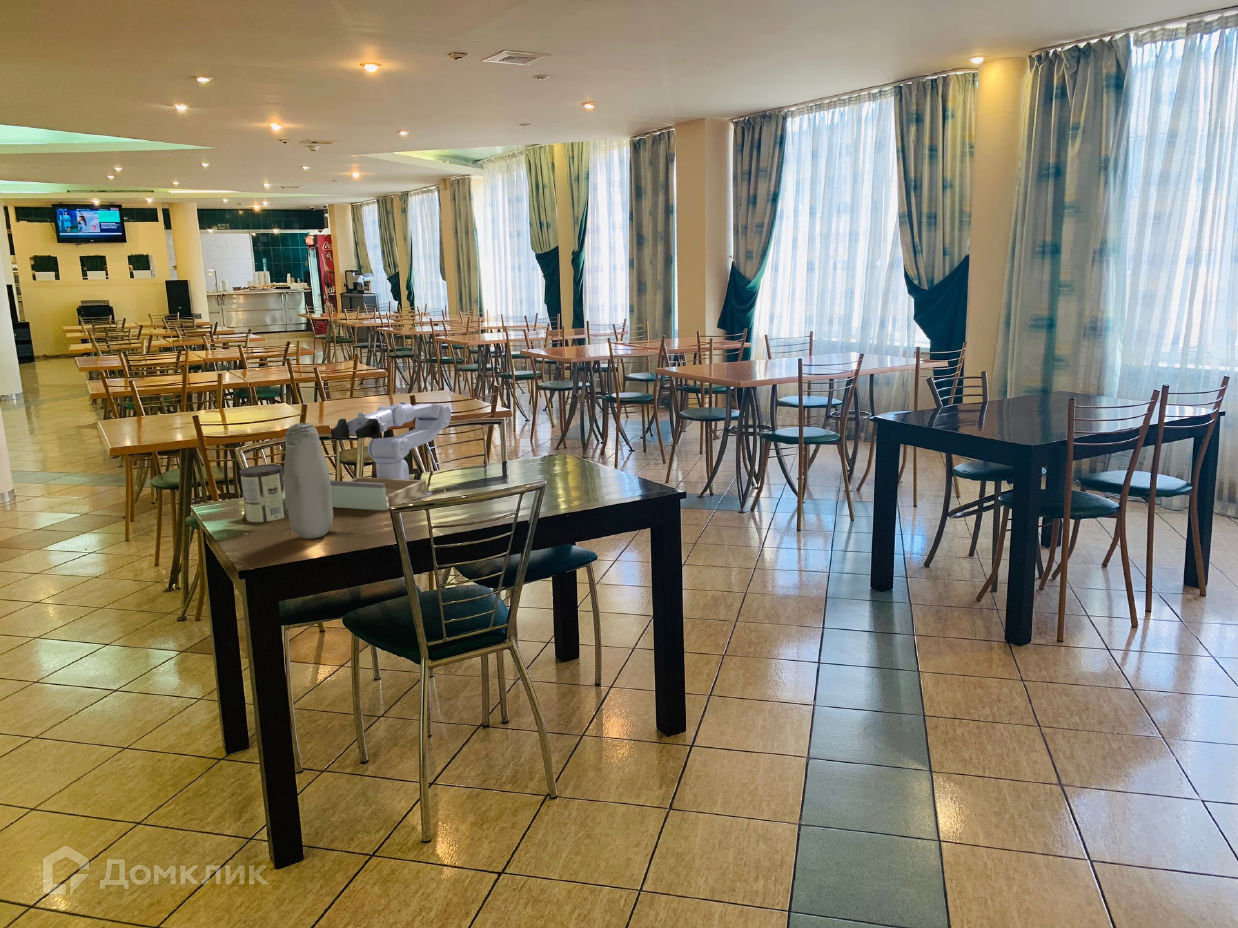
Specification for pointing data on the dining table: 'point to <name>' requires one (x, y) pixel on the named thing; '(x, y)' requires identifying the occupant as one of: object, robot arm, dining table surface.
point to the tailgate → (358, 495)
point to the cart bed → (398, 489)
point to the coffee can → (263, 493)
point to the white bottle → (307, 483)
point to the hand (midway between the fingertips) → (344, 434)
